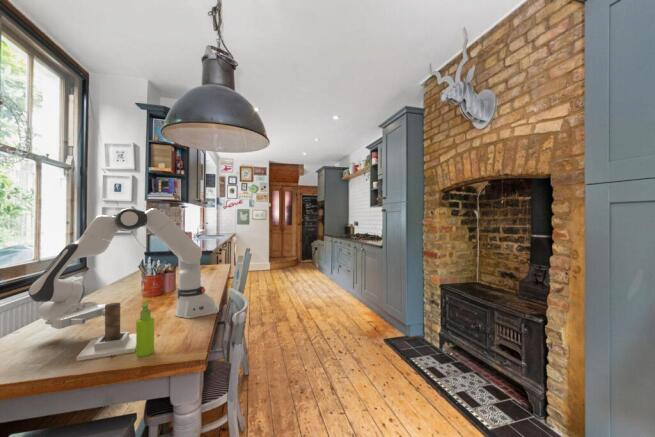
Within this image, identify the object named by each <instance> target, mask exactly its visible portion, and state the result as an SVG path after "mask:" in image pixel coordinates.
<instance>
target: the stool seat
mask: <svg viewBox="0 0 655 437" xmlns="http://www.w3.org/2000/svg"><path fill="white" fill-rule="evenodd" d="M129 353H136V333H131V334H130V331H120V340H114V341H107V342H105V334H101V335H100V337H99V338H93V339H91V340H90V341H89V342H88V343H87V345H86V346H85V347H84V348H83V349H82V350H81V351H80V352H79V354H78V355H76V362H78V361H84V360H86V361H87V360H90V359H91V360H92V359H97V358H105V357H110V356H111V355H112V356H116V355H117V356H118V355H123V354H129Z"/></svg>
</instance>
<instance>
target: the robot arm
mask: <svg viewBox="0 0 655 437" xmlns="http://www.w3.org/2000/svg"><path fill="white" fill-rule="evenodd" d="M142 227H143V228H146V229H148V230H149V232H151V233H152V234H153V235H154V236H155V237H156V238H157V239H158V240H160V242H162V243H163V244H164V245H165V247H167V248H168V249H169V250H170V251H171V252H172V253H173V255H175V256H176V257H177V258H178V259H177V260H178V285H177V286H178V287H177V290H176V291H177V292H176V294H177V296H176V297H177V305H176V308H175V312H174V316H175V317H178V318H184V319H193V318H200V317H204V316H211V315H216V314H218V313H219V312H220V307H219V306H218V305H217V304H216V302H215V300H214V298H213V297H212V296H211V295H209V294H208V293H206V288H205V287H204V286H202V284H201V280H202V279H201V277H202V275H201V273H202V272H201V258H202V256H203V251H202V249H201V247H200V246H199V244H197V243H196V242H195V241H194V240H193V239H192V238H191V237H190V236H189V235H188V234H186V232H185V231H184V230H183V229H182V228H181V227H180V226H178V224H176V222H175V221H173V220H172V218H170V217H169V216H168V215H166V214H165V213H164V212H162V211H161V210H159V209H158V208H156V207H155V208H150V209H148V210H145V211H142V210H139V209H136V208H131V207H128V208H127V207H126V208H124V209H121V210H120V211H118V212H117V214H116V215H115V216H112V215H107V214H99V215H97V216H95V217H94V218H93V219H92V221H91V222H90V223H89V224H88V225H87V227H86V228H85V230H84V232H83V233H82V235H81V236H80V237H79V238H78V239H77V240H76V241H74V242H71V243H68V244H67V245H66V246H64V248H63V249H62V250H61V251H60V252H59V254H58V255H56V257H55V258H54V259H53V260H52V262H51V263H50V264H49V266H48V267H47V268H45V270H44V272H42V273H41V275H40V276H39V277H38V278H36V280H34V281H33V282H32V283H31V284H30V286H29V288H28V295H29V297H30V298H31V299H32V301H34V302H35V303H37V302H38V303H41V302H43V303H42V304H40V306H39V308H38V310H37V313H38V316H39V317H40V318H41V319H42V320H44V321H45V322H44V324H45V325H50V327H51V328H54V329H57V330H61V329H65V328H68V327H71V326H75V325H84V324H86V321H89V320H93V319H96V318H99V317H100V318H101V317H105V305H107V304H108V303H101V302H96V301H93V300H91V301H85V302H82V300H83V299H84V295H85V291H86V290H85V286H84V284H83V283H82V282H81V281H76V280H68V279H61V278H60V276H61V275H62V274H63V272H64V271H65V270H66V269H67V267H68V266H69V265H70V263H71V262H73V261H75V260H77V259H80V258H86V257H95V256H99V255H101V254H103V253H105V252H106V250H108V248H109V246H110V244H111V243H112V240H113V238H114V237H115V235H116V233H118V232H122V231H123V232H133V231H137V230H138V229H140V228H142Z"/></svg>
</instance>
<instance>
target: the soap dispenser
mask: <svg viewBox="0 0 655 437" xmlns="http://www.w3.org/2000/svg"><path fill="white" fill-rule="evenodd" d="M149 303H150V302H149V301H143V302H142V304H141V308H142V310H140V312H139V314H140V315H139V316H140V318H138V319H137V320H136V322H135V323H136V325H135V326H136V328H135V329H136V333H135V334H136V350H135V353H136V354H135V355H136V356H137V357H147V356H150V355H152V354H153V353H154V352H155V317H153V316H151V309H149Z"/></svg>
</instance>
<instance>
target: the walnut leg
mask: <svg viewBox="0 0 655 437" xmlns="http://www.w3.org/2000/svg"><path fill="white" fill-rule="evenodd" d="M106 304H107V305H105V316H104V335H105V342H107V341H114V340H120V332H121V302H110V303H106Z"/></svg>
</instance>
